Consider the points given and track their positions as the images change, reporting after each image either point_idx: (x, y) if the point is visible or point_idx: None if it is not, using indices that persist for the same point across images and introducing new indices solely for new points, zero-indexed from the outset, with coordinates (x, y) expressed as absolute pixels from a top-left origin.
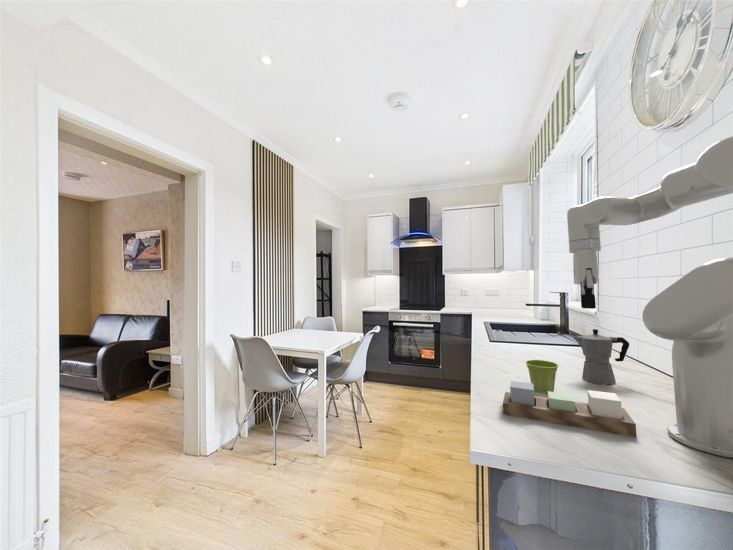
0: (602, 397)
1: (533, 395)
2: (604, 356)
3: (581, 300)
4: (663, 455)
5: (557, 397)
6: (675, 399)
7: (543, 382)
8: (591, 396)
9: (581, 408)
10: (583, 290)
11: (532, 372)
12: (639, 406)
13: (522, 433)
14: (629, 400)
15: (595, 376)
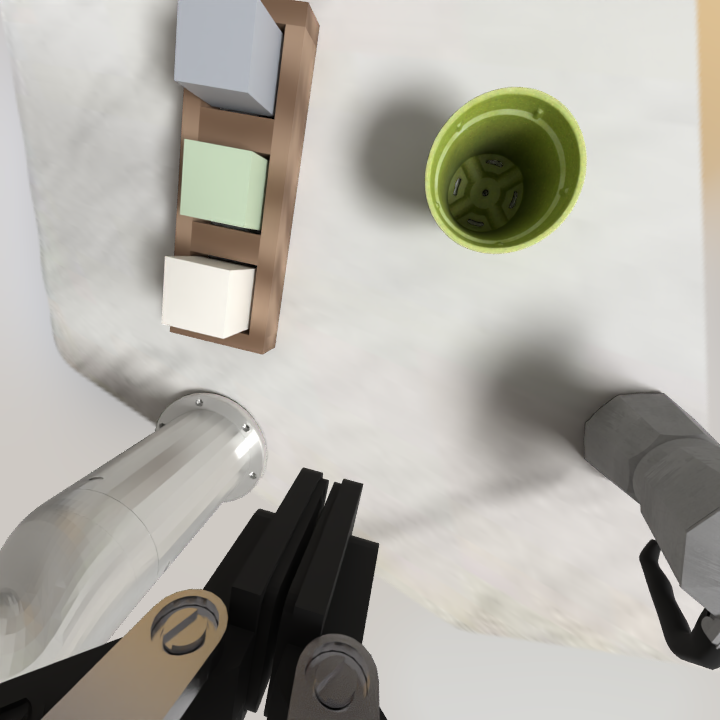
0: (174, 287)
1: (185, 87)
2: (645, 505)
3: (293, 526)
4: (132, 335)
5: (199, 169)
6: (173, 442)
7: (444, 182)
8: (172, 259)
9: (226, 242)
10: (99, 665)
11: (467, 130)
12: (383, 429)
13: (115, 61)
14: (428, 430)
15: (608, 424)
